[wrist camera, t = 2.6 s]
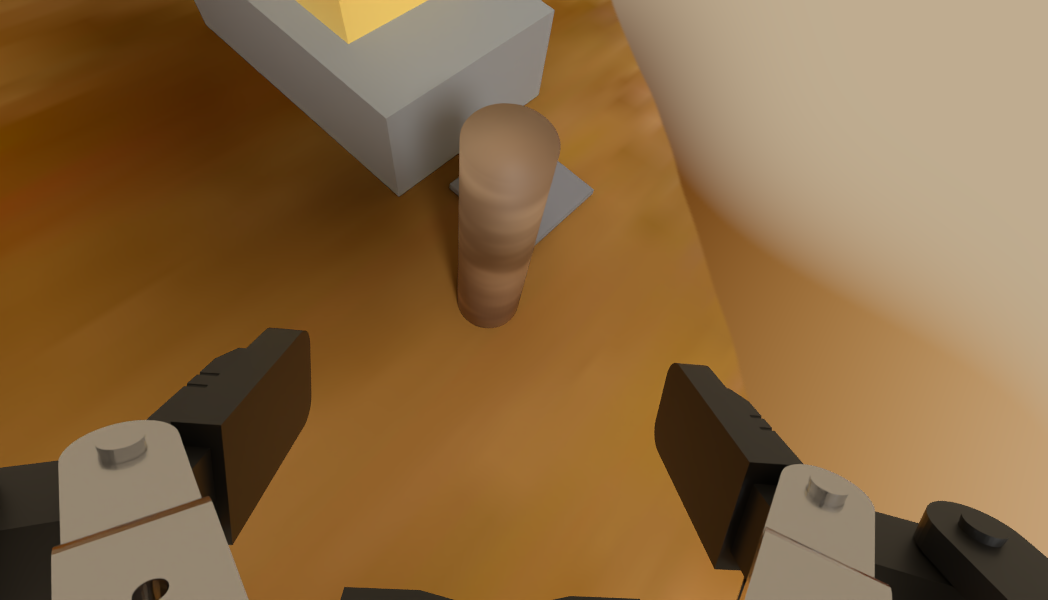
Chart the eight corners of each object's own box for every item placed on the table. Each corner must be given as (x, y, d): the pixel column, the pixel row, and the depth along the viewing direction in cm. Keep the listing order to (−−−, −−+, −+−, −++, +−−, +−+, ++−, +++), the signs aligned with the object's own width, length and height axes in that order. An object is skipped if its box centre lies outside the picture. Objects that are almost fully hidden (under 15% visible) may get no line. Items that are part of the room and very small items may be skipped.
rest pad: (449, 188, 30) (449, 184, 29) (519, 135, 32) (519, 130, 32) (525, 253, 28) (526, 250, 28) (592, 193, 31) (593, 189, 30)
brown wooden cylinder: (444, 299, 27) (437, 137, 16) (487, 262, 28) (508, 88, 17) (488, 340, 26) (513, 200, 15) (530, 300, 27) (580, 144, 16)
